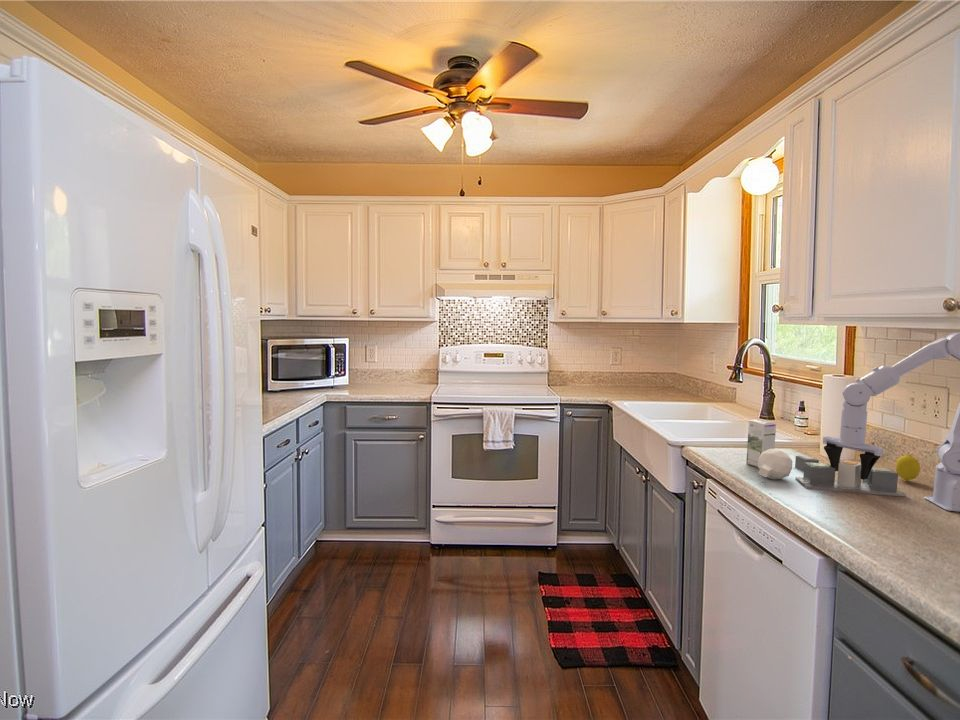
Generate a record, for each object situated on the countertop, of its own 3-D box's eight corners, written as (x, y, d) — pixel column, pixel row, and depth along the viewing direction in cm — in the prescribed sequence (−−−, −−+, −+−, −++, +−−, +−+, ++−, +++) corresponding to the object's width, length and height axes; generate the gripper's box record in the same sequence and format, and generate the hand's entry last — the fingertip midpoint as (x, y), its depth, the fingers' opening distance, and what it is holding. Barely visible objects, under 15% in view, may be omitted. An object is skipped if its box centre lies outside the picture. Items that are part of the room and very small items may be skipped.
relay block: (817, 473, 160) (819, 459, 160) (805, 472, 160) (806, 459, 160) (807, 468, 165) (808, 455, 165) (794, 468, 165) (795, 455, 165)
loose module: (860, 484, 147) (862, 462, 146) (853, 487, 144) (855, 465, 143) (844, 480, 150) (846, 459, 149) (837, 483, 147) (839, 462, 146)
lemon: (893, 477, 157) (895, 451, 156) (916, 480, 154) (919, 453, 154) (896, 482, 152) (898, 455, 152) (920, 485, 150) (923, 458, 149)
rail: (905, 496, 140) (907, 474, 139) (805, 488, 145) (807, 467, 144) (889, 487, 147) (891, 466, 147) (795, 479, 153) (796, 459, 152)
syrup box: (774, 467, 165) (777, 422, 164) (760, 469, 163) (763, 423, 162) (758, 462, 170) (761, 418, 169) (745, 464, 168) (748, 419, 167)
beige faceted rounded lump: (762, 464, 161) (743, 476, 154) (772, 439, 157) (754, 450, 150) (791, 479, 155) (773, 492, 148) (802, 454, 151) (785, 465, 144)
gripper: (891, 431, 140) (886, 480, 141) (834, 420, 153) (831, 466, 154) (876, 433, 137) (871, 483, 138) (819, 422, 150) (816, 468, 151)
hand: (849, 474), depth 146 cm, fingers open, 7 cm apart
